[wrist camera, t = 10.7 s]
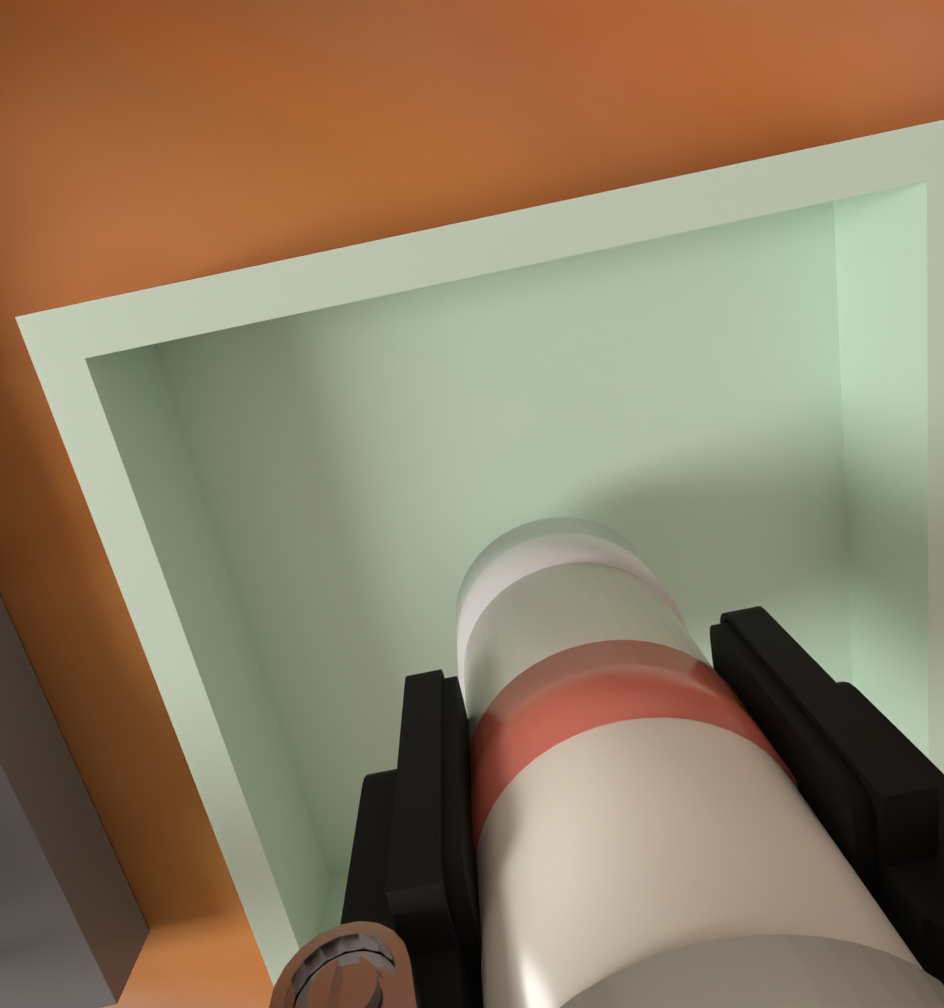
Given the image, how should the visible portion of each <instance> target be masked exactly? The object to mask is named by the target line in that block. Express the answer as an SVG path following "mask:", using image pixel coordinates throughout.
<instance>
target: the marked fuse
mask: <svg viewBox="0 0 944 1008" xmlns="http://www.w3.org/2000/svg"><path fill="white" fill-rule="evenodd" d="M456 635H457V658H458V676H459V683H460V688H461V692H462V695H463V698H464V701H465V703H466V713H467V718H468V729H469V746H470V747H469V751H468V758H469V776H470V793H471V811H472V828H473V845H474V849H475V853H476V861H477V878H478V894H479V910H480V927H481V943H482V951H481V976H482V993H483V1008H944V984H942V983H941V982H940V981H939V980H937V979H936V978H934V977H933V976H931V975H930V974H928V973H927V972H925V971H924V970H923V968H922V967H921V966H920V964H919V963H918V961H917V960H916V958H915V957H914V955H913V954H912V953H911V951H910V950H909V948H908V947H907V945H906V944H905V943H904V941H903V940H902V938H901V937H900V935H899V934H898V933H897V931H896V930H895V928H894V927H893V925H892V924H891V923H890V921H889V920H888V918H887V917H886V915H885V914H884V912H883V911H882V910H881V908H880V907H879V905H878V904H877V902H876V901H875V900H874V898H873V897H872V895H871V894H870V892H869V891H868V890H867V888H866V887H865V885H864V884H863V882H862V881H861V880H860V878H859V877H858V875H857V874H856V872H855V871H854V869H853V868H852V867H851V865H850V864H849V862H848V861H847V859H846V858H845V857H844V855H843V854H842V852H841V851H840V849H839V848H838V847H837V845H836V844H835V842H834V841H833V839H832V838H831V837H830V835H829V834H828V832H827V831H826V829H825V828H824V826H823V825H822V824H821V822H820V821H819V819H818V818H817V816H816V815H815V814H814V812H813V811H812V809H811V808H810V806H809V805H808V804H807V802H806V801H805V799H804V798H803V796H802V795H801V793H800V792H799V791H798V786H797V780H796V779H795V777H794V775H793V774H792V773H791V771H790V770H789V768H788V767H787V766H786V764H785V763H784V761H783V760H782V759H781V757H780V756H779V754H778V753H777V751H776V750H775V749H774V747H773V746H772V744H771V743H770V742H769V740H768V739H767V737H766V736H765V735H764V733H763V732H762V730H761V729H760V728H759V726H758V725H757V723H756V722H755V720H754V719H753V718H752V716H751V715H750V713H749V712H748V711H747V709H746V708H745V706H744V705H743V704H742V702H741V701H740V699H739V698H738V696H737V695H736V694H735V692H734V691H733V690H732V689H731V687H730V686H729V685H728V683H727V682H726V681H725V680H724V679H723V678H722V677H721V676H720V675H719V674H718V673H717V672H716V671H715V670H714V669H713V667H712V666H711V664H710V663H709V662H708V660H707V659H706V657H705V656H704V654H703V653H702V652H701V650H700V649H699V647H698V646H697V644H696V643H695V642H694V640H693V639H692V637H691V636H690V634H689V633H688V632H687V628H686V625H685V622H684V619H683V617H682V615H681V613H680V611H679V609H678V607H677V605H676V604H675V602H674V601H673V600H672V598H671V597H670V595H669V594H668V593H667V591H666V590H665V589H664V587H663V586H662V584H661V583H660V582H659V580H658V579H657V577H656V576H655V575H654V573H653V572H652V570H651V569H650V568H649V566H648V565H647V564H646V562H645V561H644V559H643V558H642V557H641V555H640V554H639V553H638V551H637V550H636V549H635V548H634V547H633V546H632V545H631V544H630V543H629V542H628V541H627V540H626V539H624V538H623V537H622V536H620V535H619V534H618V533H616V532H614V531H612V530H610V529H609V528H607V527H605V526H602V525H600V524H597V523H594V522H591V521H587V520H583V519H576V518H548V519H540V520H536V521H533V522H529V523H526V524H523V525H521V526H518V527H516V528H513V529H511V530H510V531H508V532H506V533H504V534H502V535H501V536H500V537H498V538H497V539H495V540H494V541H493V542H491V543H490V544H489V545H488V546H487V547H486V548H485V549H484V550H483V551H482V552H481V553H480V554H479V555H478V556H477V558H476V559H475V560H474V561H473V563H472V564H471V566H470V568H469V569H468V571H467V572H466V574H465V577H464V579H463V581H462V583H461V586H460V590H459V593H458V597H457V604H456Z"/></svg>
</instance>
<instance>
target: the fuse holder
mask: <svg viewBox="0 0 944 1008" xmlns="http://www.w3.org/2000/svg"><path fill="white" fill-rule="evenodd" d="M148 933H149V929H148V927H147V924H146V922H145V920H144V918H143V915H142V913H141V911H140V909H139V906H138V904H137V902H136V900H135V897H134V895H133V893H132V891H131V888H130V886H129V884H128V882H127V879H126V877H125V875H124V873H123V870H122V868H121V866H120V864H119V861H118V859H117V857H116V855H115V852H114V850H113V848H112V846H111V843H110V841H109V839H108V837H107V834H106V832H105V830H104V828H103V825H102V823H101V821H100V819H99V816H98V814H97V812H96V810H95V807H94V805H93V803H92V801H91V798H90V796H89V794H88V792H87V789H86V787H85V785H84V783H83V780H82V778H81V776H80V774H79V771H78V769H77V767H76V765H75V762H74V760H73V758H72V756H71V753H70V751H69V749H68V747H67V744H66V742H65V740H64V738H63V735H62V733H61V731H60V729H59V726H58V724H57V722H56V720H55V717H54V715H53V713H52V711H51V708H50V706H49V704H48V702H47V699H46V697H45V695H44V693H43V690H42V688H41V686H40V684H39V681H38V679H37V677H36V675H35V673H34V670H33V668H32V666H31V664H30V661H29V659H28V657H27V655H26V652H25V650H24V648H23V646H22V643H21V641H20V639H19V637H18V634H17V632H16V630H15V628H14V625H13V623H12V621H11V619H10V616H9V614H8V612H7V610H6V607H5V605H4V603H3V601H2V598H1V596H0V1008H99V1007H104V1006H109V1005H115V1004H117V1003H118V1000H119V998H120V996H121V994H122V991H123V989H124V987H125V985H126V982H127V980H128V978H129V976H130V974H131V971H132V969H133V967H134V965H135V962H136V960H137V958H138V956H139V954H140V951H141V949H142V947H143V945H144V942H145V940H146V938H147V936H148Z"/></svg>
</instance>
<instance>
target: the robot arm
mask: <svg viewBox="0 0 944 1008" xmlns="http://www.w3.org/2000/svg"><path fill="white" fill-rule="evenodd" d="M710 643H711V652H712V661H713V669H714V670H715V671H716V672H717V673H718V674H719V675H720V676H721V677H722V678H723V679H724V680H725V681H726V682H727V683H728V685H729V686H730V687H731V689H732V690H733V691H734V692H735V694H736V695H737V696H738V698H739V699H740V701H741V702H742V704H743V705H744V706H745V708H746V709H747V711H748V712H749V713H750V715H751V716H752V718H753V719H754V720H755V722H756V723H757V725H758V726H759V728H760V729H761V730H762V732H763V733H764V735H765V736H766V737H767V739H768V740H769V742H770V743H771V744H772V746H773V747H774V749H775V750H776V751H777V753H778V754H779V756H780V757H781V759H782V760H783V761H784V763H785V764H786V766H787V767H788V768H789V770H790V771H791V773H792V774H793V775H794V777H795V779H796V780H797V786H798V791H799V792H800V793H801V795H802V796H803V798H804V799H805V801H806V802H807V804H808V805H809V806H810V808H811V809H812V811H813V812H814V814H815V815H816V816H817V818H818V819H819V821H820V822H821V824H822V825H823V826H824V828H825V829H826V831H827V832H828V834H829V835H830V837H831V838H832V839H833V841H834V842H835V844H836V845H837V847H838V848H839V849H840V851H841V852H842V854H843V855H844V857H845V858H846V859H847V861H848V862H849V864H850V865H851V867H852V868H853V869H854V871H855V872H856V874H857V875H858V877H859V878H860V880H861V881H862V882H863V884H864V885H865V887H866V888H867V890H868V891H869V892H870V894H871V895H872V897H873V898H874V900H875V901H876V902H877V904H878V905H879V907H880V908H881V910H882V911H883V912H884V914H885V915H886V917H887V918H888V920H889V921H890V923H891V924H892V925H893V927H894V928H895V930H896V931H897V933H898V934H899V935H900V937H901V938H902V940H903V941H904V943H905V944H906V945H907V947H908V948H909V950H910V951H911V953H912V954H913V955H914V957H915V958H916V960H917V961H918V963H919V964H920V966H921V967H922V968H923V970H924V971H925V972H927V973H928V974H930V975H931V976H933V977H934V978H936V979H937V980H939V981H940V982H941V983H942V984H944V774H943V773H942V772H941V771H940V770H939V769H938V768H937V767H936V766H935V765H934V764H933V763H932V762H931V761H930V760H929V759H928V758H927V757H926V756H925V755H924V754H923V753H922V752H921V751H920V750H919V749H918V748H917V747H916V746H915V745H914V744H913V743H912V742H911V741H910V740H909V739H908V738H907V737H906V736H905V735H904V734H903V733H902V732H901V731H900V730H899V729H898V728H897V727H896V726H895V725H894V724H893V723H892V722H891V721H890V720H889V719H888V718H887V717H886V716H885V715H884V714H883V713H882V712H880V711H879V710H878V709H877V708H876V707H875V706H874V705H873V704H872V703H871V702H870V701H869V700H868V699H867V698H866V697H865V696H864V695H863V694H862V693H861V692H860V691H859V690H858V689H857V688H856V687H854V686H853V685H852V684H850V683H849V682H844V681H842V682H835V681H834V680H833V678H832V677H831V676H830V675H829V674H828V673H827V672H826V671H825V670H824V669H823V668H822V667H821V666H820V665H819V664H818V663H817V662H816V661H815V660H814V659H813V658H812V657H811V656H810V655H809V654H808V653H807V652H806V651H805V650H804V649H803V648H802V647H801V646H800V645H799V644H798V643H797V642H796V641H795V640H794V639H793V638H792V637H791V636H790V635H789V634H788V632H787V631H786V630H785V629H784V628H783V627H782V626H781V625H780V624H779V623H778V622H777V621H776V620H775V619H774V618H773V617H772V616H771V615H770V614H769V613H768V612H767V611H766V610H765V609H764V608H763V607H761V606H756V607H751V608H746V609H741V610H736V611H731V612H726V613H722V615H721V617H720V624H715V625H711V627H710ZM469 747H470V746H469V729H468V718H467V713H466V709H465V705H464V701H463V696H462V692H461V688H460V684H459V680H458V677H457V676H454V677H449V678H445V677H444V674H443V671H442V669H439V670H434V671H429V672H424V673H419V674H414V675H409V676H406V678H405V685H404V696H403V707H402V718H401V729H400V740H399V751H398V762H397V769H393V770H388V771H383V772H378V773H372V774H367V775H366V776H365V777H364V780H363V784H362V789H361V796H360V802H359V809H358V815H357V821H356V828H355V834H354V840H353V847H352V853H351V859H350V866H349V872H348V879H347V885H346V891H345V898H344V904H343V910H342V917H341V923H340V925H338V926H336V927H333V928H331V929H329V930H327V931H325V932H323V933H321V934H319V935H317V936H316V937H315V938H313V939H312V940H311V941H309V942H308V943H307V944H305V945H304V946H303V947H302V948H300V949H299V950H298V952H297V953H296V954H295V955H294V956H293V957H292V959H291V960H290V961H289V962H288V963H287V964H286V966H285V967H284V969H283V971H282V973H281V975H280V976H279V978H278V980H277V982H276V984H275V986H274V989H273V993H272V998H271V1002H270V1006H269V1008H483V993H482V976H481V951H482V943H481V927H480V910H479V894H478V878H477V861H476V853H475V849H474V845H473V828H472V811H471V793H470V776H469V758H468V751H469Z"/></svg>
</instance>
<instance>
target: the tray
mask: <svg viewBox="0 0 944 1008" xmlns="http://www.w3.org/2000/svg"><path fill="white" fill-rule="evenodd" d="M15 318H16V321H17V323H18V326H19V329H20V331H21V334H22V336H23V339H24V342H25V344H26V347H27V349H28V352H29V355H30V357H31V360H32V362H33V365H34V367H35V370H36V373H37V375H38V378H39V380H40V383H41V386H42V388H43V391H44V393H45V396H46V399H47V401H48V404H49V406H50V409H51V411H52V414H53V417H54V419H55V422H56V424H57V427H58V430H59V432H60V435H61V437H62V440H63V443H64V445H65V448H66V450H67V453H68V455H69V458H70V461H71V463H72V466H73V468H74V471H75V474H76V476H77V479H78V481H79V484H80V487H81V489H82V492H83V494H84V497H85V499H86V502H87V505H88V507H89V510H90V512H91V515H92V518H93V520H94V523H95V525H96V528H97V531H98V533H99V536H100V538H101V541H102V543H103V546H104V549H105V551H106V554H107V556H108V559H109V562H110V564H111V567H112V569H113V572H114V575H115V577H116V580H117V582H118V585H119V587H120V590H121V593H122V595H123V598H124V600H125V603H126V606H127V608H128V611H129V613H130V616H131V619H132V621H133V624H134V626H135V629H136V631H137V634H138V637H139V639H140V642H141V644H142V647H143V650H144V652H145V655H146V657H147V660H148V663H149V665H150V668H151V670H152V673H153V675H154V678H155V681H156V683H157V686H158V688H159V691H160V694H161V696H162V699H163V701H164V704H165V707H166V709H167V712H168V714H169V717H170V719H171V722H172V725H173V727H174V730H175V732H176V735H177V738H178V740H179V743H180V745H181V748H182V751H183V753H184V756H185V758H186V761H187V763H188V766H189V769H190V771H191V774H192V776H193V779H194V782H195V784H196V787H197V789H198V792H199V795H200V797H201V800H202V802H203V805H204V807H205V810H206V813H207V815H208V818H209V820H210V823H211V826H212V828H213V831H214V833H215V836H216V839H217V841H218V844H219V846H220V849H221V851H222V854H223V857H224V859H225V862H226V864H227V867H228V870H229V872H230V875H231V877H232V880H233V883H234V885H235V888H236V890H237V893H238V895H239V898H240V901H241V903H242V906H243V908H244V911H245V914H246V916H247V919H248V921H249V924H250V927H251V929H252V932H253V934H254V937H255V939H256V942H257V945H258V947H259V950H260V952H261V955H262V958H263V960H264V963H265V965H266V968H267V971H268V973H269V976H270V978H271V981H272V983H273V986H275V984H276V982H277V980H278V978H279V976H280V975H281V973H282V971H283V969H284V967H285V966H286V964H287V963H288V962H289V961H290V960H291V959H292V957H293V956H294V955H295V954H296V953H297V952H298V950H299V949H300V948H302V947H303V946H304V945H305V944H307V943H308V942H309V941H311V940H312V939H313V938H315V937H316V936H317V935H319V934H321V933H323V932H325V931H327V930H329V929H331V928H333V927H336V926H338V925H340V923H341V917H342V910H343V904H344V898H345V891H346V885H347V879H348V872H349V866H350V859H351V853H352V847H353V840H354V834H355V828H356V821H357V815H358V809H359V802H360V796H361V789H362V784H363V780H364V777H365V776H366V775H367V774H372V773H378V772H383V771H388V770H393V769H397V762H398V751H399V740H400V729H401V718H402V707H403V696H404V685H405V678H406V676H409V675H414V674H419V673H424V672H429V671H434V670H439V669H442V671H443V674H444V677H445V678H449V677H454V676H457V677H458V680H459V676H458V658H457V635H456V604H457V597H458V593H459V590H460V586H461V583H462V581H463V579H464V577H465V574H466V572H467V571H468V569H469V568H470V566H471V564H472V563H473V561H474V560H475V559H476V558H477V556H478V555H479V554H480V553H481V552H482V551H483V550H484V549H485V548H486V547H487V546H488V545H489V544H490V543H491V542H493V541H494V540H495V539H497V538H498V537H500V536H501V535H502V534H504V533H506V532H508V531H510V530H511V529H513V528H516V527H518V526H521V525H523V524H526V523H529V522H533V521H536V520H540V519H548V518H576V519H583V520H587V521H591V522H594V523H597V524H600V525H602V526H605V527H607V528H609V529H610V530H612V531H614V532H616V533H618V534H619V535H620V536H622V537H623V538H624V539H626V540H627V541H628V542H629V543H630V544H631V545H632V546H633V547H634V548H635V549H636V550H637V551H638V553H639V554H640V555H641V557H642V558H643V559H644V561H645V562H646V564H647V565H648V566H649V568H650V569H651V570H652V572H653V573H654V575H655V576H656V577H657V579H658V580H659V582H660V583H661V584H662V586H663V587H664V589H665V590H666V591H667V593H668V594H669V595H670V597H671V598H672V600H673V601H674V602H675V604H676V605H677V607H678V609H679V611H680V613H681V615H682V617H683V619H684V622H685V625H686V628H687V632H688V633H689V634H690V636H691V637H692V639H693V640H694V642H695V643H696V644H697V646H698V647H699V649H700V650H701V652H702V653H703V654H704V656H705V657H706V659H707V660H708V662H709V663H710V664H711V666H712V667H713V661H712V652H711V643H710V627H711V625H715V624H720V617H721V615H722V613H726V612H731V611H736V610H741V609H746V608H751V607H756V606H761V607H763V608H764V609H765V610H766V611H767V612H768V613H769V614H770V615H771V616H772V617H773V618H774V619H775V620H776V621H777V622H778V623H779V624H780V625H781V626H782V627H783V628H784V629H785V630H786V631H787V632H788V634H789V635H790V636H791V637H792V638H793V639H794V640H795V641H796V642H797V643H798V644H799V645H800V646H801V647H802V648H803V649H804V650H805V651H806V652H807V653H808V654H809V655H810V656H811V657H812V658H813V659H814V660H815V661H816V662H817V663H818V664H819V665H820V666H821V667H822V668H823V669H824V670H825V671H826V672H827V673H828V674H829V675H830V676H831V677H832V678H833V680H834V681H835V682H842V681H844V682H849V683H850V684H852V685H853V686H854V687H856V688H857V689H858V690H859V691H860V692H861V693H862V694H863V695H864V696H865V697H866V698H867V699H868V700H869V701H870V702H871V703H872V704H873V705H874V706H875V707H876V708H877V709H878V710H879V711H880V712H882V713H883V714H884V715H885V716H886V717H887V718H888V719H889V720H890V721H891V722H892V723H893V724H894V725H895V726H896V727H897V728H898V729H899V730H900V731H901V732H902V733H903V734H904V735H905V736H906V737H907V738H908V739H909V740H910V741H911V742H912V743H913V744H914V745H915V746H916V747H917V748H918V749H919V750H920V751H921V752H922V753H923V754H924V755H925V756H926V757H927V758H928V759H929V760H930V761H931V762H932V763H933V764H934V765H935V766H936V767H937V768H938V769H939V770H940V771H941V772H942V773H943V774H944V120H940V121H936V122H931V123H926V124H922V125H917V126H912V127H908V128H903V129H898V130H893V131H889V132H884V133H879V134H875V135H870V136H865V137H860V138H856V139H851V140H846V141H842V142H837V143H832V144H827V145H823V146H818V147H813V148H809V149H804V150H799V151H795V152H790V153H785V154H780V155H776V156H771V157H766V158H762V159H757V160H752V161H747V162H743V163H738V164H733V165H729V166H724V167H719V168H714V169H710V170H705V171H700V172H696V173H691V174H686V175H682V176H677V177H672V178H667V179H663V180H658V181H653V182H649V183H644V184H639V185H634V186H630V187H625V188H620V189H616V190H611V191H606V192H601V193H597V194H592V195H587V196H583V197H578V198H573V199H569V200H564V201H559V202H554V203H550V204H545V205H540V206H536V207H531V208H526V209H521V210H517V211H512V212H507V213H503V214H498V215H493V216H488V217H484V218H479V219H474V220H470V221H465V222H460V223H456V224H451V225H446V226H441V227H437V228H432V229H427V230H423V231H418V232H413V233H408V234H404V235H399V236H394V237H390V238H385V239H380V240H375V241H371V242H366V243H361V244H357V245H352V246H347V247H343V248H338V249H333V250H328V251H324V252H319V253H314V254H310V255H305V256H300V257H295V258H291V259H286V260H281V261H277V262H272V263H267V264H262V265H258V266H253V267H248V268H244V269H239V270H234V271H230V272H225V273H220V274H215V275H211V276H206V277H201V278H197V279H192V280H187V281H182V282H178V283H173V284H168V285H164V286H159V287H154V288H149V289H145V290H140V291H135V292H131V293H126V294H121V295H117V296H112V297H107V298H102V299H98V300H93V301H88V302H84V303H79V304H74V305H69V306H65V307H60V308H55V309H51V310H46V311H41V312H36V313H32V314H27V315H22V316H18V317H15ZM459 684H460V683H459ZM462 696H463V695H462ZM463 701H464V698H463ZM464 705H465V709H466V703H465V701H464Z"/></svg>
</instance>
